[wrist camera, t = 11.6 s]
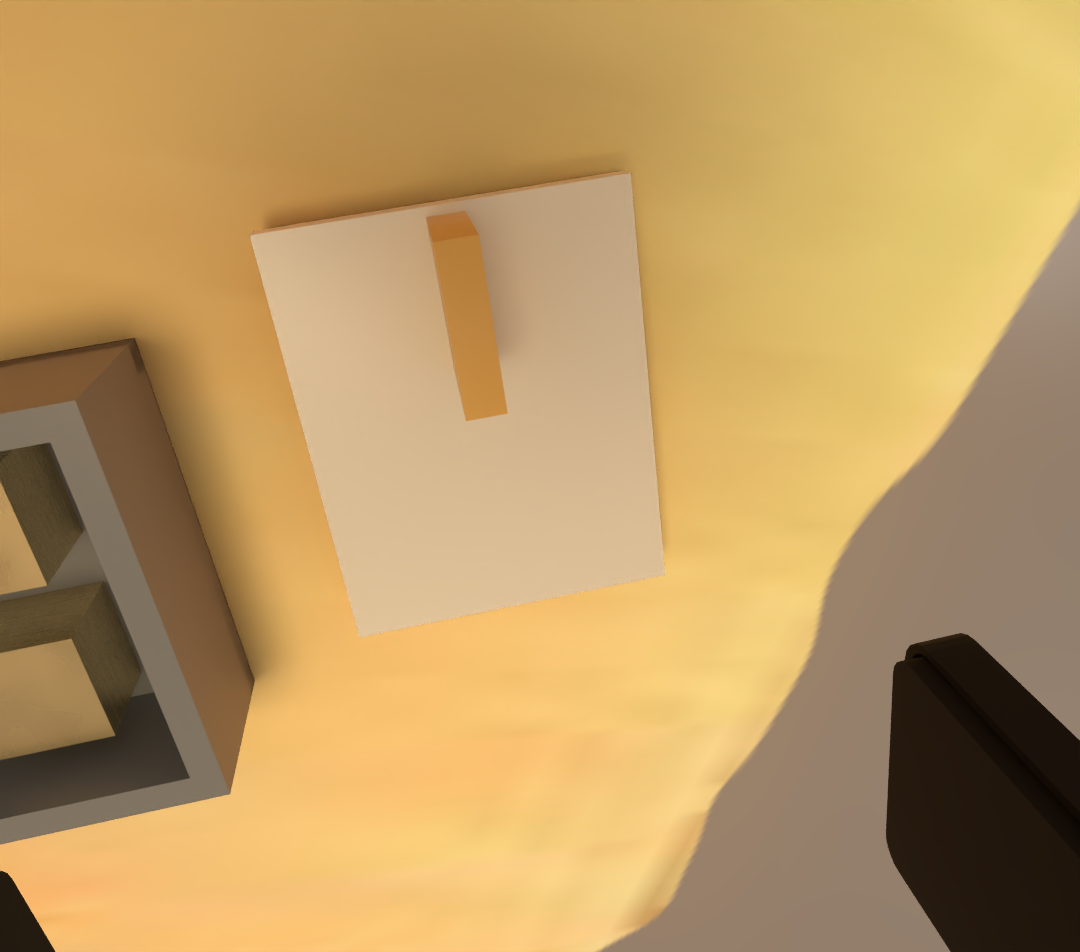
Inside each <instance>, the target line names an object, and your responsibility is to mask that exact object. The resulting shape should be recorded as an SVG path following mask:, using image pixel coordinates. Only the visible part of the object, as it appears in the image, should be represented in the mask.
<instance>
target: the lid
mask: <svg viewBox="0 0 1080 952" xmlns="http://www.w3.org/2000/svg"><path fill="white" fill-rule="evenodd" d="M250 239H251V243H252V246H253V250H254V253H255V257H256V261H257V264H258V268H259V272H260V275H261V279H262V283H263V286H264V290H265V294H266V297H267V301H268V305H269V308H270V312H271V316H272V319H273V323H274V327H275V330H276V334H277V338H278V341H279V345H280V349H281V352H282V356H283V360H284V363H285V367H286V370H287V374H288V378H289V381H290V385H291V389H292V392H293V396H294V400H295V403H296V407H297V411H298V414H299V418H300V422H301V425H302V429H303V433H304V436H305V440H306V444H307V447H308V451H309V455H310V458H311V462H312V466H313V469H314V473H315V476H316V480H317V484H318V487H319V491H320V495H321V498H322V502H323V506H324V509H325V513H326V517H327V520H328V524H329V528H330V531H331V535H332V539H333V542H334V546H335V550H336V553H337V557H338V561H339V564H340V568H341V572H342V575H343V579H344V582H345V586H346V590H347V593H348V597H349V601H350V604H351V608H352V612H353V615H354V619H355V623H356V626H357V630H358V634H359V637H364V636H369V635H374V634H379V633H384V632H389V631H393V630H398V629H403V628H408V627H413V626H418V625H423V624H428V623H433V622H438V621H442V620H447V619H452V618H457V617H462V616H467V615H472V614H477V613H482V612H487V611H491V610H496V609H501V608H506V607H511V606H516V605H521V604H526V603H531V602H536V601H540V600H545V599H550V598H555V597H560V596H565V595H570V594H575V593H580V592H585V591H589V590H594V589H599V588H604V587H609V586H614V585H619V584H624V583H629V582H634V581H638V580H643V579H648V578H653V577H658V576H663V575H665V568H664V556H663V545H662V533H661V521H660V509H659V498H658V486H657V474H656V462H655V451H654V439H653V427H652V415H651V404H650V392H649V380H648V369H647V357H646V345H645V333H644V322H643V310H642V298H641V286H640V275H639V263H638V251H637V239H636V228H635V216H634V204H633V192H632V181H631V173H629V172H627V171H618V172H612V173H606V174H600V175H594V176H588V177H582V178H575V179H569V180H563V181H557V182H551V183H545V184H539V185H532V186H526V187H520V188H514V189H508V190H502V191H496V192H490V193H483V194H477V195H471V196H465V197H459V198H453V199H447V200H440V201H434V202H428V203H422V204H416V205H410V206H404V207H397V208H391V209H385V210H379V211H373V212H367V213H361V214H354V215H348V216H342V217H336V218H330V219H324V220H318V221H311V222H305V223H299V224H293V225H287V226H281V227H275V228H268V229H262V230H256V231H253V232H252V233H251V234H250Z"/></svg>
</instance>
